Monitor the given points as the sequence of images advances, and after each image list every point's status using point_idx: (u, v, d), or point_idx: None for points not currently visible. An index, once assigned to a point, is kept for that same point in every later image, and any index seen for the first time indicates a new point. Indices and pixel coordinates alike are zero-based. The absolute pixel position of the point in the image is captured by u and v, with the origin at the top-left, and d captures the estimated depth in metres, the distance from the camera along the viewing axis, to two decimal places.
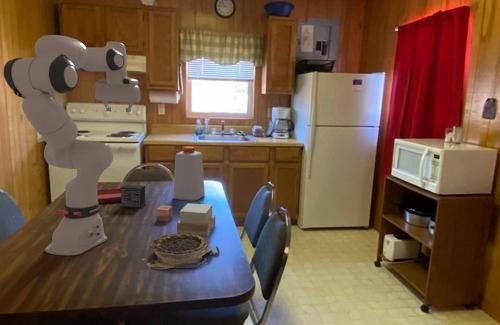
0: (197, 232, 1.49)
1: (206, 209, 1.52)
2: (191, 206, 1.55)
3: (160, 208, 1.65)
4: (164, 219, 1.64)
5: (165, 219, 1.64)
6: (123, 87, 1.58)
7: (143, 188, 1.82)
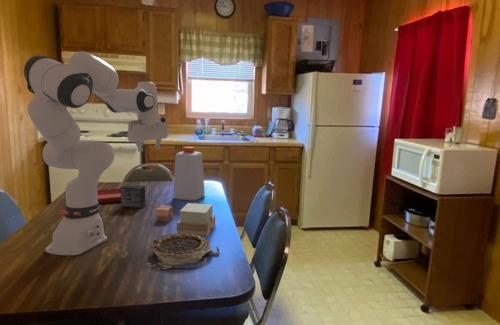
0: (197, 232, 1.49)
1: (206, 209, 1.52)
2: (191, 206, 1.55)
3: (160, 208, 1.65)
4: (164, 219, 1.64)
5: (165, 219, 1.64)
6: (158, 125, 1.63)
7: (143, 188, 1.82)
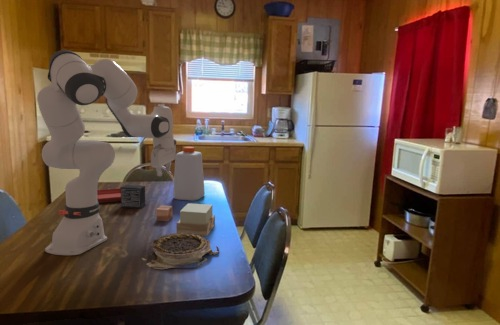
0: (196, 232, 1.49)
1: (206, 209, 1.52)
2: (191, 206, 1.55)
3: (160, 208, 1.65)
4: (164, 219, 1.64)
5: (165, 219, 1.64)
6: (171, 148, 1.64)
7: (143, 188, 1.82)
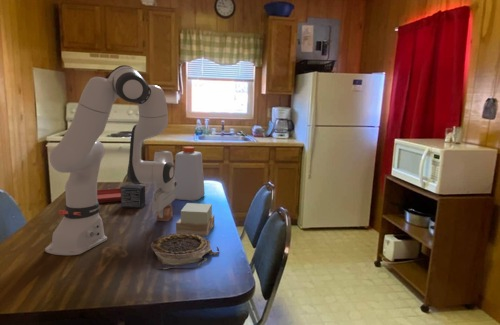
0: (196, 232, 1.49)
1: (206, 208, 1.53)
2: (191, 206, 1.56)
3: None
4: (164, 219, 1.64)
5: (165, 219, 1.64)
6: (172, 190, 1.68)
7: (143, 188, 1.82)
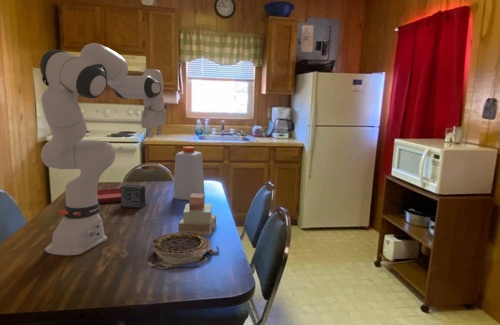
0: (199, 232, 1.49)
1: (208, 208, 1.53)
2: None
3: (193, 196, 1.51)
4: (198, 208, 1.51)
5: (199, 207, 1.51)
6: (162, 112, 1.69)
7: (143, 188, 1.82)
